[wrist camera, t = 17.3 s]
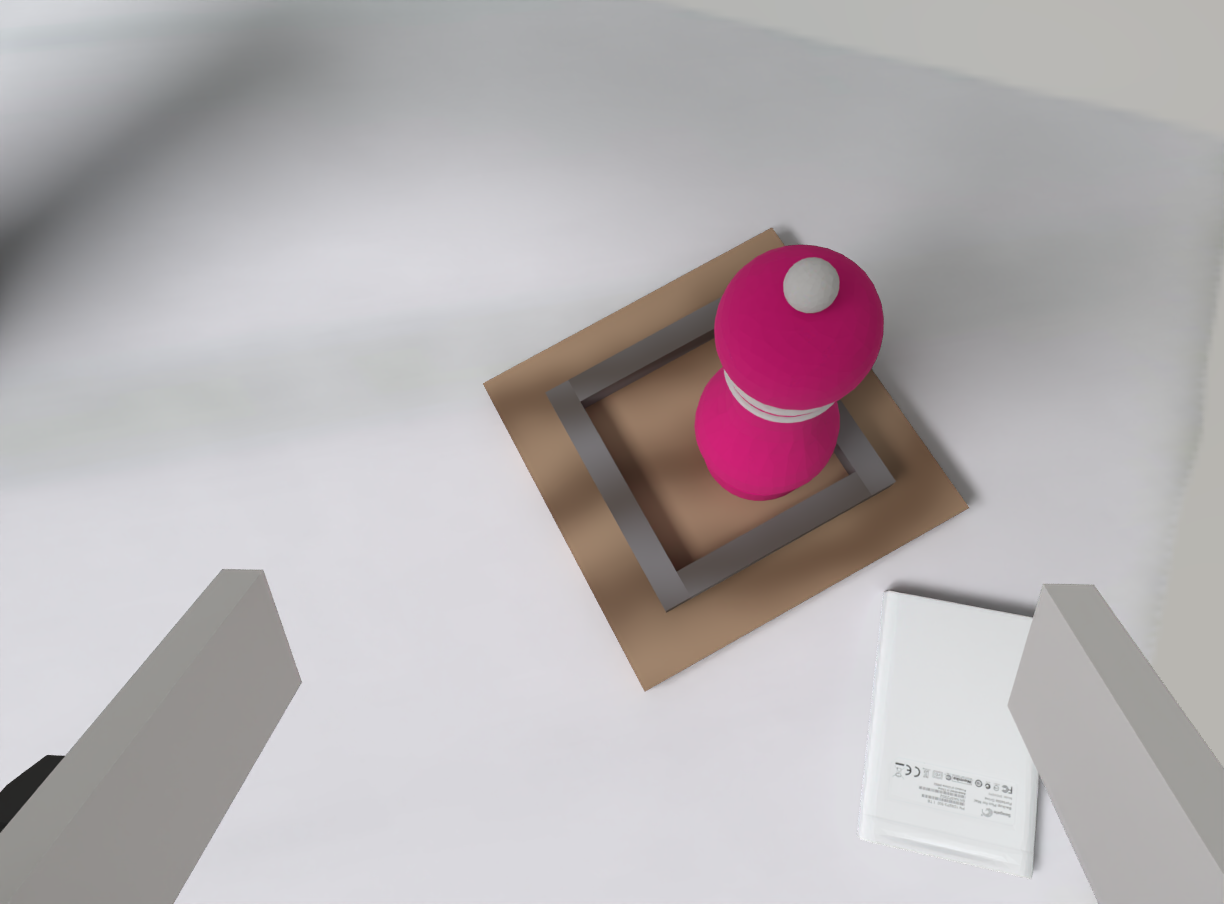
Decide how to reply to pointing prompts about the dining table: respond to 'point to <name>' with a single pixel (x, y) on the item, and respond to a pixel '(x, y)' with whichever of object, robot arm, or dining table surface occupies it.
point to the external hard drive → (949, 737)
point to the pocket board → (700, 479)
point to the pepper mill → (785, 368)
